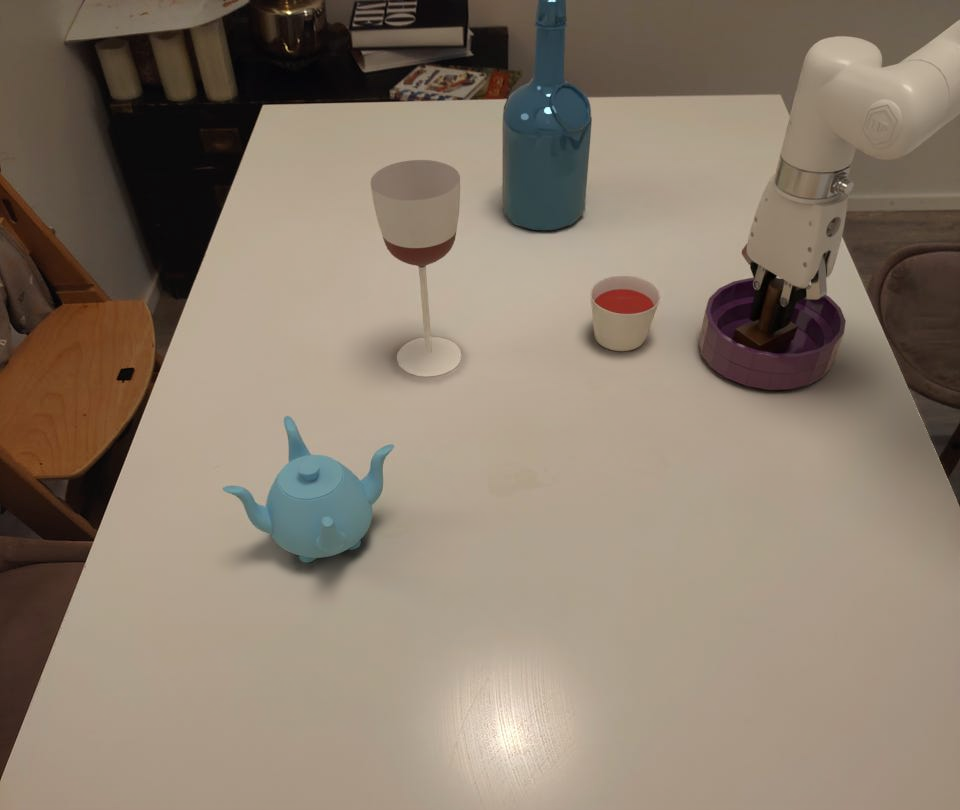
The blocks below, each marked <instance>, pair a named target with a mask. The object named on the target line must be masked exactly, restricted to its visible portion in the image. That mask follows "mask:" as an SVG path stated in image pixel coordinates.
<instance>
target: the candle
mask: <svg viewBox="0 0 960 810" xmlns="http://www.w3.org/2000/svg"><path fill="white" fill-rule="evenodd" d="M589 293H590V304H591V306H590V307H591V315H592V326H593V335H594V338H595V340H596V342H597V344H599V345H600V346H602V347H603V348H605V349H607V350H611V351H615V352H628V351H632V350H633V351H634V350H635V349H638V348H640V347H641V346H642V345H643V344H644V342H645V341H646V339H647V337H648V334H649V332H650V329H651V326H652V323H653V321H654V318H655V315H656V312H657V309H658V307H659V304H660V302H661V292H660V290H659V288H658V287H657V286H656V284H654V283H653V282H652V281H650V280H648V279H646V278H643V277H641V276H637V275H631V274H616V275H615V274H614V275H610V276H607V277H604V278H601V279H599V280H598V281H597V282H595V283H594V284H593V285H592V286H591V289H590V292H589Z"/></svg>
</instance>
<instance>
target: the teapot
mask: <svg viewBox="0 0 960 810" xmlns="http://www.w3.org/2000/svg"><path fill="white" fill-rule="evenodd" d="M283 425H284V428H285V432H286V436H287V442H288V463H286V464H285V465H284V466H283V467H282V468H281V469H280V471H279V472H278V473H277V474H276V477H275V479H274V481H273V483H272V484H271V486H270V488H269V491H268V494H267V497H266V503H265V505H262V504H259V503H257V502H256V500H255V499H254V496H253V494H252V493H251V492H250V490H249V489H247V488H246V487H243V486H240V485H226V486H223V487H222V491H223V492H225V493H227V494H231V495H233V496H235V497H236V498H238V499H239V501H240V502H241V503H242V505H243V507H244V511H245V513H246V515H247V518H248V519H249V521H250V523H251V524H252V526H253V527H255V528H256V529H257V530H259V531H261V532H263V533H266V534H269V535H270V537H271V538H272V540H273V541H274V542H275V543H276V544H277V545H278V547H281V549H283V550H285V551H287V552H289V553H291V554H293V555H296V556H298V559H299V561H301V562H302V563H311V562H314V561H315V560H317V559H319V558H320V559H321V558H328V557H333V556H336V555H338V554H339V555H340V554H341V553H343V552H346V551H347V550H349V551H353V550H356V549H358V548H359V547H360V546H361V543H362V541H361V540H362V538H363V537H364V536H365V535H366V534H367V532H368V530H369V529H370V526H371V524H372V520H373V513H374V511H373V505H374V504H375V503H376V502H377V501H378V499H379V498H380V497H381V494H382V492H383V487H384V462H385V460H386V458H387V456H389V454H390V453H391V452H392V451H393V450H394V448H395V445H394V444H393V443H390V444H387V445H384V446H382V447H380V448H379V449H377V450H376V451H375V453H374V454H373V455H372V457H371V460H370V466H369V471H368V473H367V474H366V475H365V476H364V477H363V478H362V479H359V478H358V477H357V475H356V474H355V473H354V472H353V471H351V470H350V469H349V468H348V467H347V466H345V465H344V464H342V463H341V462H340V461H338V460H336V459H334V458H332V457H330V456H328V455H324V454H311V452H310V451H309V448H308V447H307V445H306V443H305V442H304V440H303V438H302V436H301V434H300V431H299V429H298V426H297V424H296V422H295V420H294V419H293V418H292V417H291V416H290V415H285V416H284V418H283Z"/></svg>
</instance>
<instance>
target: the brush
mask: <svg viewBox="0 0 960 810" xmlns="http://www.w3.org/2000/svg"><path fill="white" fill-rule="evenodd" d="M784 282H785V280H783V279H782V278H780V279H773V280H771V281H770V282H769V285H768V289H767V292H766V296H765V300H764V303H763V307H762V310H761V314H760V318H759V320H757V321H750V322H748V323H746V324H744V325H742V326H740V327H738V328H736V329H735V333H734V337H733V340H734V341H735V342H737V343H739V344H741V345H744V346H747V347H749V348H752V349H755V350H759V351H765V352H770V353H776V354H780V353H782V352H784V351H786V350H788V349H789V346H790V343H791V341H792V340H794V337H795V334H796V331H797V328H798V326H797V325H795V324H794V323H792V322H790V323H789V324H788V325H787V326H786V327H784V328H782V329H780V330H778V331H776V332H774V333H770V332H768V326H769V322H770V319H771V315H772V312H773V308H774V305H775V304H776V303H777V302H779V301H780V298H781V294H782V290H783V286H784Z"/></svg>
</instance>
